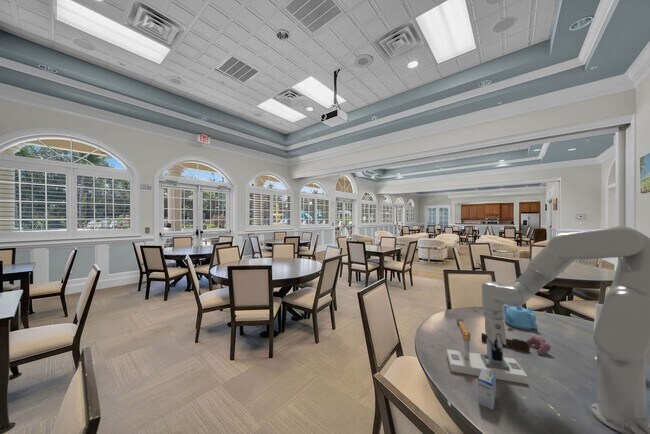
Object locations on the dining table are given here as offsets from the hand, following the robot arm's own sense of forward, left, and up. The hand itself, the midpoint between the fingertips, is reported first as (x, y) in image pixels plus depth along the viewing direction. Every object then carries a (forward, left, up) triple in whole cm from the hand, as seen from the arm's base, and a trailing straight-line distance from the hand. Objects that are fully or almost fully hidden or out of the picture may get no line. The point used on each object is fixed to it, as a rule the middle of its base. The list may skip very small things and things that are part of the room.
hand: (494, 356), depth 100 cm
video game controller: (+24, -24, -6) cm, 35 cm away
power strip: (0, +4, -6) cm, 7 cm away
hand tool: (+25, -11, -6) cm, 28 cm away
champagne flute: (+22, -48, -6) cm, 53 cm away
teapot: (+54, -28, -6) cm, 61 cm away
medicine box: (-20, +8, -6) cm, 22 cm away
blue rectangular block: (0, 0, -2) cm, 2 cm away
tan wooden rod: (+7, +10, +5) cm, 14 cm away
